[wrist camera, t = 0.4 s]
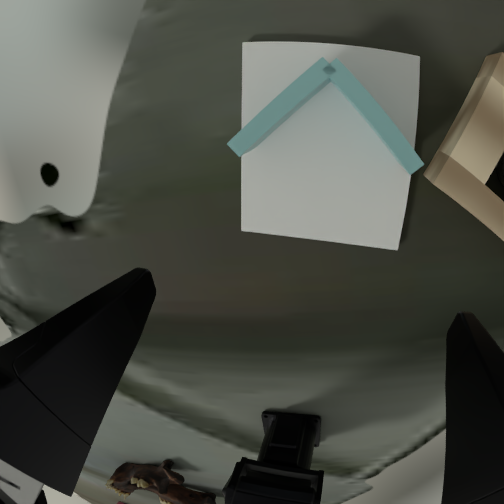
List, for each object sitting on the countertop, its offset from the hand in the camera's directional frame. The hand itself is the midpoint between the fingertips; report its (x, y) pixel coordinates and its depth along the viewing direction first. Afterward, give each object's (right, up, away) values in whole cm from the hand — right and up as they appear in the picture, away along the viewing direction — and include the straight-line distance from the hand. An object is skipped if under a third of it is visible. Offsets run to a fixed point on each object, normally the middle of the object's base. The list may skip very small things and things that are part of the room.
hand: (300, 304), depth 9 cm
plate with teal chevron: (+3, +8, +11) cm, 14 cm away
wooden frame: (+17, +7, +7) cm, 20 cm away
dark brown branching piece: (-21, -43, +44) cm, 65 cm away
